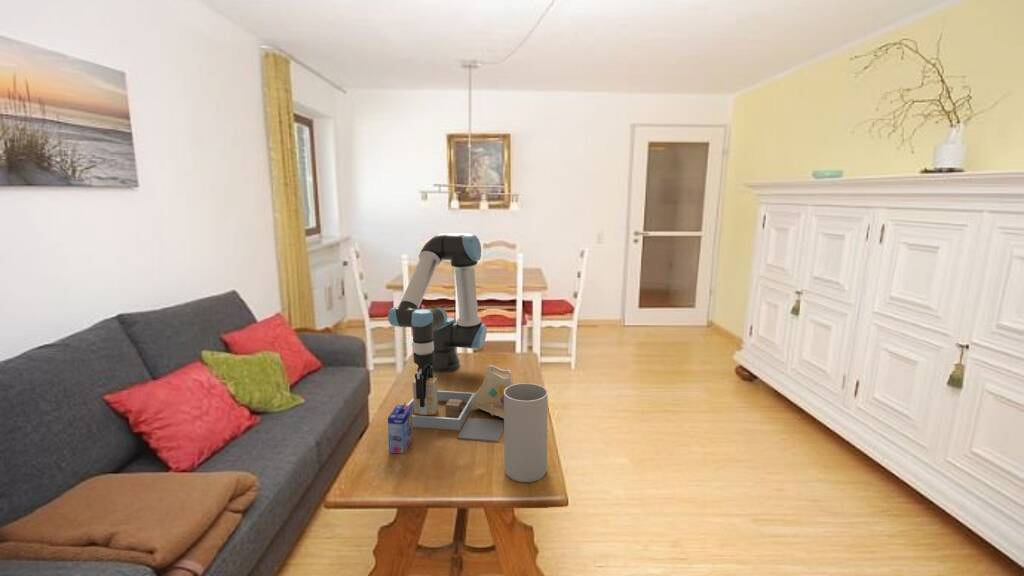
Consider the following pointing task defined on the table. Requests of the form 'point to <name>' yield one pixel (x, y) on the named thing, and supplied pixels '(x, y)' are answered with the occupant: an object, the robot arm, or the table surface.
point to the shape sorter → (492, 391)
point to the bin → (442, 421)
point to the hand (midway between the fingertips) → (426, 410)
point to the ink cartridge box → (400, 428)
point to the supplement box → (430, 395)
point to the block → (454, 408)
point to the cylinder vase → (525, 432)
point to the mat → (482, 430)
